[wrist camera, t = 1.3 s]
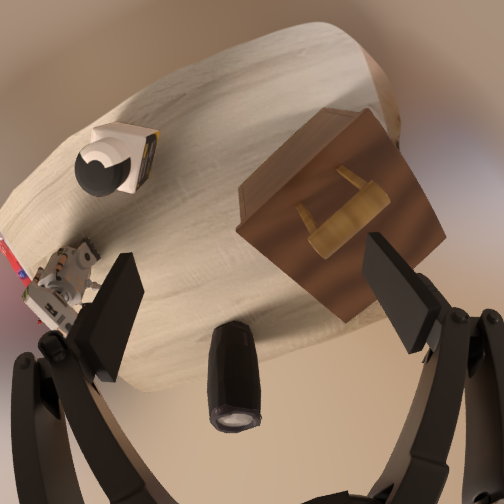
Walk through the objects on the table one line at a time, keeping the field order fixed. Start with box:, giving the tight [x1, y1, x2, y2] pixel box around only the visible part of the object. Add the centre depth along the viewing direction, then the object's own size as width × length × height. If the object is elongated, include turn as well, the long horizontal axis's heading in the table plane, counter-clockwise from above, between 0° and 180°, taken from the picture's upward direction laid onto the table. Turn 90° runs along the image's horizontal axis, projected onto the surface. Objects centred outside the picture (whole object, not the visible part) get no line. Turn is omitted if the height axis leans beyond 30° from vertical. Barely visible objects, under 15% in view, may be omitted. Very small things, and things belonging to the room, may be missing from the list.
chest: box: [238, 108, 359, 223], centre depth 34 cm, size 18×17×14 cm
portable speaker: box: [207, 321, 262, 433], centre depth 45 cm, size 9×9×20 cm
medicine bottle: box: [75, 122, 159, 197], centre depth 30 cm, size 7×7×12 cm
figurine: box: [22, 237, 102, 339], centre depth 37 cm, size 9×12×15 cm
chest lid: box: [236, 108, 446, 323], centre depth 24 cm, size 18×17×9 cm
